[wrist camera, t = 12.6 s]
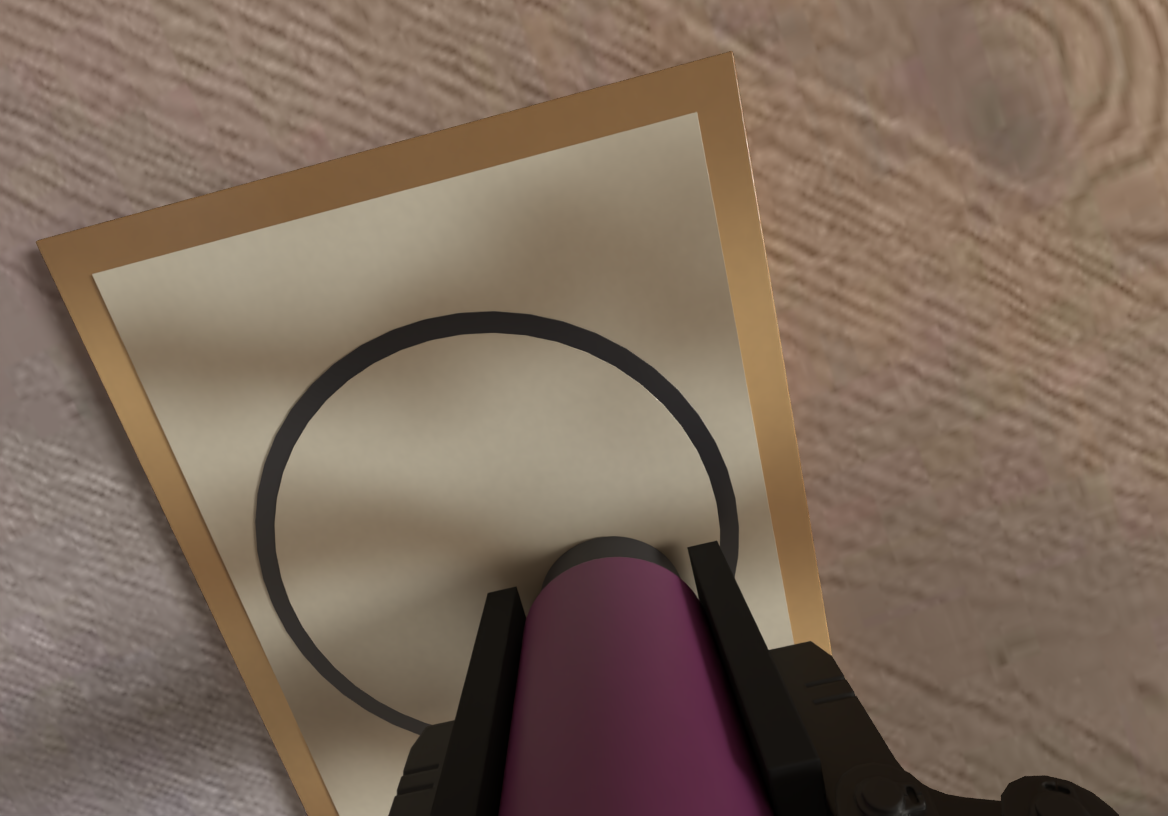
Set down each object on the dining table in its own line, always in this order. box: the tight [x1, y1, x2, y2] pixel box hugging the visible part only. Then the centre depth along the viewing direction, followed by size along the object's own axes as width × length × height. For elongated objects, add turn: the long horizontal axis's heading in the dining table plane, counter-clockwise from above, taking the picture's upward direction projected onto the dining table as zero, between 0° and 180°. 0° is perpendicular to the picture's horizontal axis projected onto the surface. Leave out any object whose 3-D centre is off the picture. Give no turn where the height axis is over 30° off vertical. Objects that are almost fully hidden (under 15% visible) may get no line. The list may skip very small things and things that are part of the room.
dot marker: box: [498, 536, 775, 816], centre depth 11 cm, size 5×5×10 cm
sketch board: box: [36, 51, 832, 816], centre depth 16 cm, size 21×16×1 cm
